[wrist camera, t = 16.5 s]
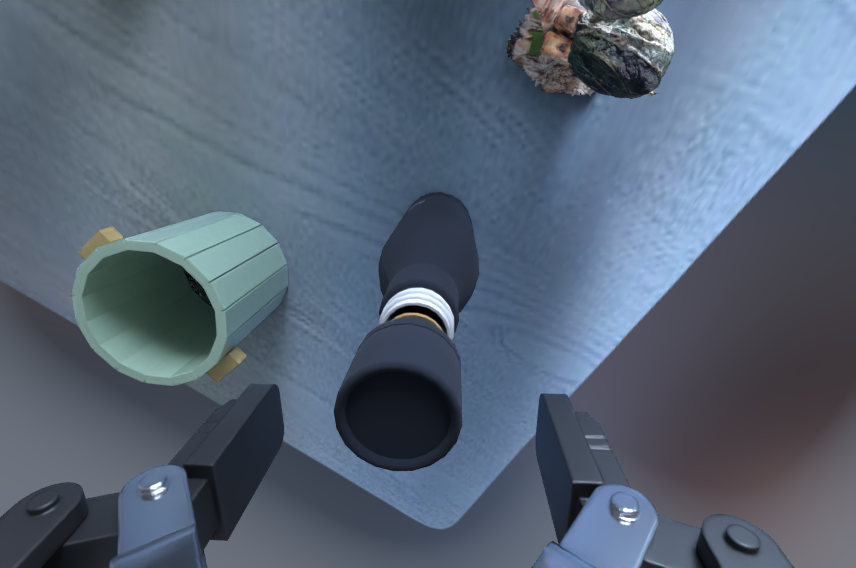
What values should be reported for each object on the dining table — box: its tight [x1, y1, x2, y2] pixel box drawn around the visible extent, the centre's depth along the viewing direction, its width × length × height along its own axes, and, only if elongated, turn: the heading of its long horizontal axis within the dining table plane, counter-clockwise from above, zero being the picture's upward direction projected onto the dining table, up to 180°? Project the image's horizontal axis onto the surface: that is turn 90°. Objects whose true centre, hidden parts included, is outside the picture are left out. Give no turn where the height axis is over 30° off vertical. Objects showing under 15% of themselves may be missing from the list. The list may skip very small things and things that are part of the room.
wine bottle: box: [334, 192, 479, 471], centre depth 27 cm, size 6×6×30 cm
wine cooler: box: [71, 211, 288, 386], centre depth 38 cm, size 12×14×12 cm
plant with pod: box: [506, 0, 675, 99], centre depth 26 cm, size 8×11×20 cm
